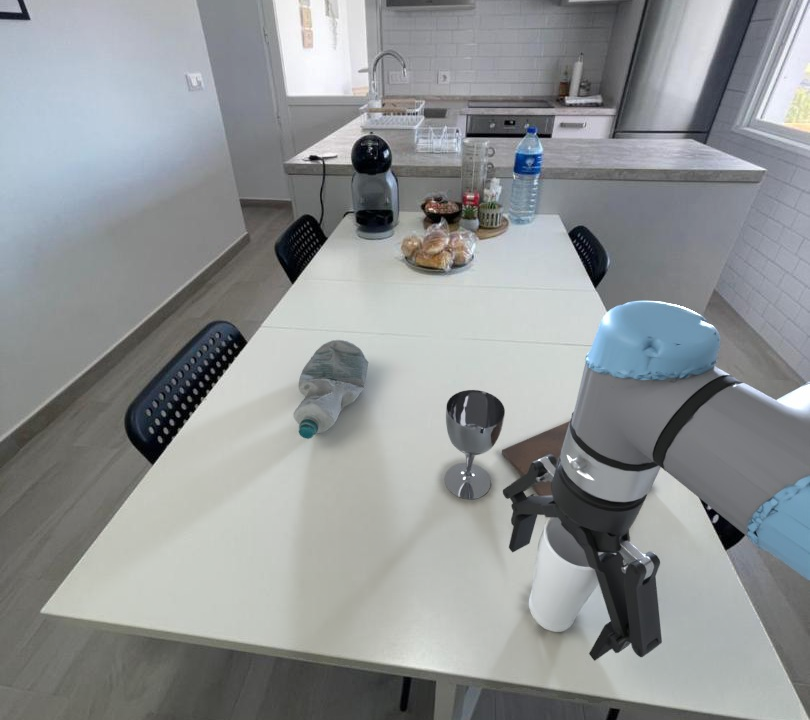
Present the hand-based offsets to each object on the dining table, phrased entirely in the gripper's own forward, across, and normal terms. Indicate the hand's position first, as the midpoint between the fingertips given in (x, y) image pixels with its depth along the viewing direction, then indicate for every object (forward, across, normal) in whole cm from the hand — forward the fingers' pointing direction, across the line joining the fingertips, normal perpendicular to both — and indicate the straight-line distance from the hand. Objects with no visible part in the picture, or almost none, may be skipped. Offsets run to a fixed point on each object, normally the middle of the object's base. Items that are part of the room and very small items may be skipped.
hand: (556, 593), depth 52 cm
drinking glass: (+4, 0, 0) cm, 4 cm away
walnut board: (+4, -15, +18) cm, 24 cm away
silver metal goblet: (+4, -21, +2) cm, 21 cm away
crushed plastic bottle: (+4, -49, -11) cm, 50 cm away
